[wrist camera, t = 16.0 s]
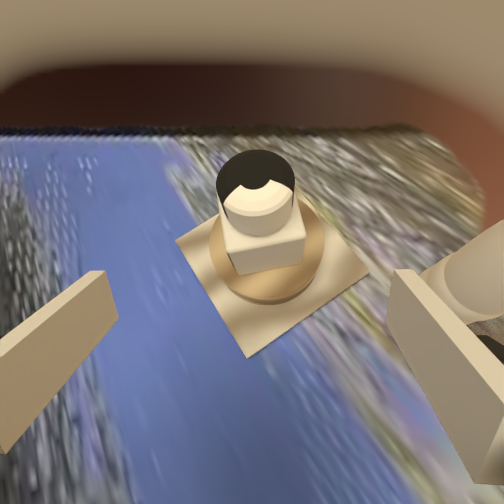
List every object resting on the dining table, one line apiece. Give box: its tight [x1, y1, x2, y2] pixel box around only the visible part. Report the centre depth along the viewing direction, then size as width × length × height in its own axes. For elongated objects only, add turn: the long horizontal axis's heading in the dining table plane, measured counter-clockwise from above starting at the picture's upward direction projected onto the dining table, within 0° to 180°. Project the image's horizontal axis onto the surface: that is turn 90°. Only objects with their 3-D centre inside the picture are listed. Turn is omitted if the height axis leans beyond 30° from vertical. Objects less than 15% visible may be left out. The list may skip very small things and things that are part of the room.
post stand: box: [175, 187, 371, 359], centre depth 35 cm, size 18×18×6 cm
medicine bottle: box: [216, 150, 307, 275], centre depth 27 cm, size 7×7×12 cm
